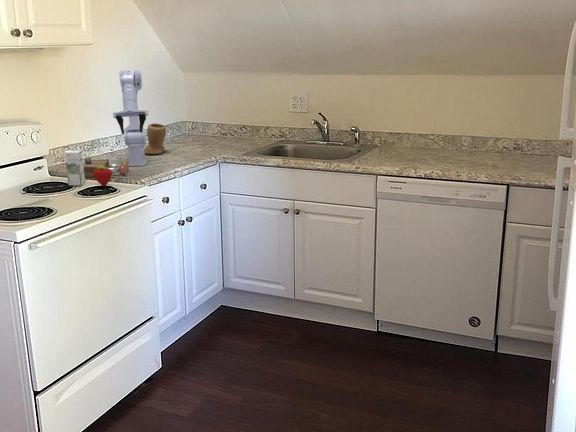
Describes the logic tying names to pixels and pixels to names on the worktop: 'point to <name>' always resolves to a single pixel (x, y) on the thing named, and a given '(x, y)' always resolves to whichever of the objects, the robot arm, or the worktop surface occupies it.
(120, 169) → the outer knob
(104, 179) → the strawberry
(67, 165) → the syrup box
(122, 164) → the inner knob
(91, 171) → the mount
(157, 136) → the brown boot
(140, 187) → the worktop surface
